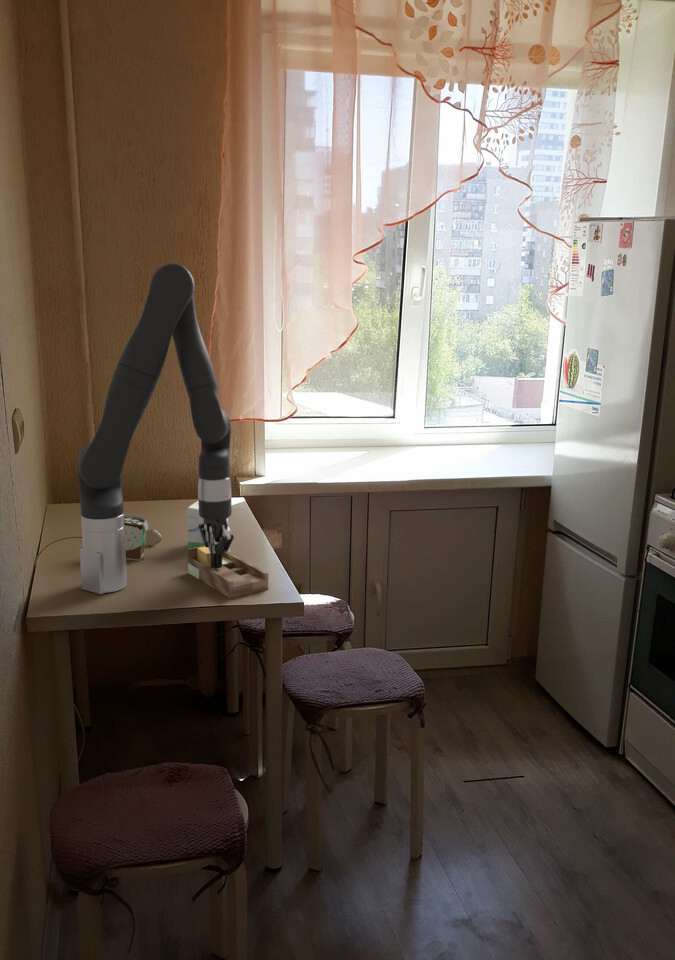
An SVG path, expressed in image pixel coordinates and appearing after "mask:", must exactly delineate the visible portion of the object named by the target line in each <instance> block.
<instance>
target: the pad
mask: <svg viewBox="0 0 675 960" xmlns="http://www.w3.org/2000/svg"><path fill="white" fill-rule="evenodd" d="M231 562H232V561H230V560H228V559H226V558H225V557H223V556H222V564H226V563H231ZM187 572H188V574H189V575H191V576H193V577H195V578H196V579H198V580H199V569H197V568H196V567H194V566H192V565H191V564H189V563H188V562H187Z"/></svg>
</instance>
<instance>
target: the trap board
mask: <svg viewBox="0 0 675 960" xmlns="http://www.w3.org/2000/svg"><path fill="white" fill-rule="evenodd" d="M200 547H205V546H200ZM200 547H195V548H190V549H188V548H187V564H188V563H189V564H191V565H192V566H194V567H196V568H197V569H199V579H198V580H199V581H201V582H203V583H204V584H206V585H207V586H209V587H211V588H212V589H214V590H216V591H217V592H219V593H220V594H223V595H224V596H225V597H227V598H228V599H233V598H238V597H242V596H246V595H249V594H250V595H251V594H253V593H254V594H255V593H259V592H262V591H266V590H269V572H267V571H265V570H264V569H261V568H260V567H258V566H256V565H254V564H252V563H250V562H248V561H246V560H245V559H242V558H241V557H238V556H237V555H235V554H233V553H231V552H230V553H229V552H223V553H222V556H223V557H225V558H226V559H228V560H230V561H232V562H231V563H226V564H222V567H221V568H217V569H214V568H213V567H208V566H206V565H204V564H202V563H201V562H199V561H197V548H200Z"/></svg>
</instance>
